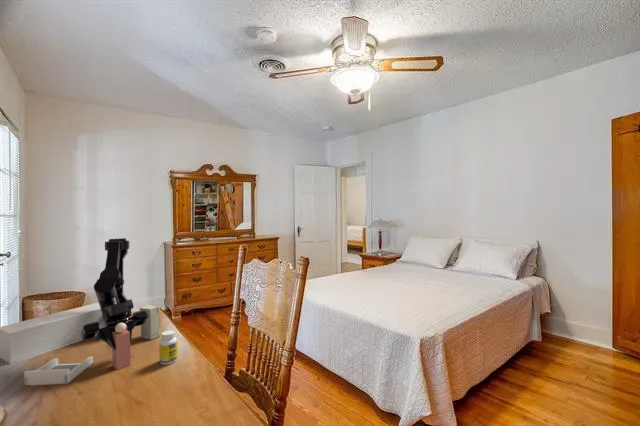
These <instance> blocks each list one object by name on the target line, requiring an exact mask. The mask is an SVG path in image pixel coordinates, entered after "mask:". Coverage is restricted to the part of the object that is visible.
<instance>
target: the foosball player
mask: <svg viewBox="0 0 640 426" xmlns="http://www.w3.org/2000/svg"><path fill="white" fill-rule="evenodd" d="M115 331H116V332H113V333H112V337H113V339H114V342H115V345H116V350H114V349H113V348H111V350H112V367H113V368H114V369H116V370H120V369H122V368H124V369H125V368H126V367H129V366H131V361H132V360H131V345H130V332H129V331H127V330H126V324H125V323H118V324H117V325H116V327H115Z"/></svg>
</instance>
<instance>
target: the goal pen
mask: <svg viewBox="0 0 640 426" xmlns="http://www.w3.org/2000/svg"><path fill="white" fill-rule="evenodd" d="M93 365H94V356H89V357H87V358H86V359H84V360H83V361H82V362H75V363H74V362H73V363H59V358H58V357H54V358H53V359H51V360H49V361H48V362H46V363H45V364H44V365H42V366H40V367H38V368H37V369H36V370H35V369H34V370H26V371H24V372H23V374H24V375H23V377H24V386H25V385H31V386H44V385H46V386H47V385H50V386H51V385H66V384H69V383H70V382H72V381H73V380H74V379H75V378H77V377H78V376H80V374H82V373H84V371H86V370H87V369H88V368H90V367H91V366H93Z"/></svg>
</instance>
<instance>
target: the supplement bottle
mask: <svg viewBox="0 0 640 426" xmlns="http://www.w3.org/2000/svg"><path fill="white" fill-rule="evenodd" d="M175 336H176V332H175V331H174V330H172V329H171V330H165V331H163V332H161V339H160V341H159V349H158V350H159V364H161V365H171V364H174V363H175V362H177V360H178V339H177V337H175ZM173 362H174V363H173Z"/></svg>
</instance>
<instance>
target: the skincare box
mask: <svg viewBox="0 0 640 426" xmlns="http://www.w3.org/2000/svg"><path fill="white" fill-rule="evenodd" d="M143 310H144V311H146V312H147V314H148V317H147V319H146V321H145V323H144V324H143V325H140V337H141V338H142V339H145V340H154V339H156V338H158V337H161V326H160V323H161V322H160V306H159V305H151V304H148V305H145V306H142V307H139V311H143Z"/></svg>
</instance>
